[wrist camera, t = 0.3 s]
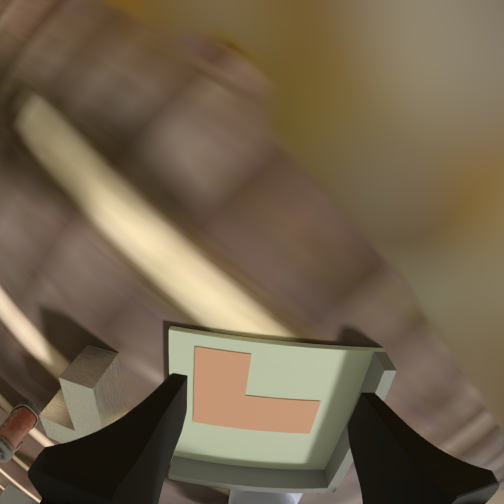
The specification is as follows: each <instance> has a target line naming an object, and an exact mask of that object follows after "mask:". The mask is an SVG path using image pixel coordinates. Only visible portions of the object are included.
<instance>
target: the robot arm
mask: <svg viewBox="0 0 504 504" xmlns="http://www.w3.org/2000/svg"><path fill="white" fill-rule="evenodd" d="M187 380H188V375H182V374H177V373H172V374H170V375H169V376H168V377H167V379H166V380H165V381H164V382H163V383H162V384H161V385H160V386H159V387H158V388H157V389H156V390H155V391H154V392H152V393H151V394H150V395H149V396H148V397H147V398H146V399H145V400H144V401H142V402H141V403H140V404H139V405H137V406H136V407H135V408H133V409H132V410H131V411H130V412H128V413H127V414H125V415H124V416H122V417H121V418H119V419H118V420H116V421H115V422H113V423H111V424H109V425H108V426H106V427H104V428H102V429H100V430H98V431H96V432H94V433H91V434H89V435H86V436H84V437H81V438H79V439H76V440H73V441H70V442H66V443H62V444H58V445H54V446H49V447H45V448H44V449H43V451H42V452H41V453H40V454H39V455H38V457H37V458H36V460H35V461H34V463H33V464H32V466H31V467H30V469H29V470H28V477H29V479H30V481H31V483H32V484H33V486H34V487H35V488H36V490H37V491H38V493H39V494H40V495H41V497H42V500H41V502H40V504H158V502H159V498H160V493H161V489H162V485H163V481H164V478H165V475H166V471H167V469H168V466H169V464H170V461H171V458H172V456H173V453H174V451H175V448H176V445H177V443H178V440H179V438H180V435H181V432H182V429H183V425H184V421H185V417H186V412H187ZM347 428H348V438H349V445H350V449H351V453H352V456H353V460H354V464H355V468H356V471H357V475H358V479H359V482H360V487H361V492H362V500H363V504H485V503H486V502H487V501H488V500H489V499H490V498H491V497H492V496H493V495H494V494H495V493H496V491H497V490H498V488H499V483H498V481H497V479H496V477H495V476H494V474H493V472H492V471H491V470H487V469H484V468H480V467H477V466H474V465H471V464H468V463H466V462H463V461H461V460H459V459H457V458H455V457H453V456H451V455H449V454H447V453H445V452H443V451H442V450H440V449H438V448H437V447H435V446H434V445H432V444H431V443H429V442H428V441H427V440H425V439H424V438H423V437H421V436H420V435H419V434H418V433H416V432H415V431H414V430H413V429H412V428H410V427H409V426H408V425H407V424H406V423H405V422H404V421H403V420H402V419H401V418H400V417H399V416H398V415H397V414H396V413H395V412H394V411H393V410H392V409H391V408H390V407H389V406H388V405H387V404H386V403H385V402H384V401H383V400H382V399H381V398H380V397H378V396H377V395H376V394H375V393H365V392H361V394H360V397H359V399H358V402H357V404H356V406H355V409H354V411H353V413H352V416H351V418H350V420H349V422H348V425H347ZM302 494H303V493H269V492H254V491H242V490H233V489H230V495H229V501H228V504H298V502H299V500H300V498H301V496H302ZM0 504H39V503H38V502H36V501H35V500H34V499H32V498H31V497H29V496H27V495H26V494H24V493H22V492H21V491H19V490H17V489H16V488H14V487H12V486H11V485H7V487H6V488H5V490H4V491H3V493H2V494H1V496H0Z"/></svg>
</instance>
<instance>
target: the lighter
mask: <svg viewBox="0 0 504 504" xmlns="http://www.w3.org/2000/svg"><path fill="white" fill-rule="evenodd" d="M40 414H41V412H40V411H39V409H38V408H37V407H36V406H35V405H34V404H33V403H31V402H29V401H23V402H21V403H19V404H18V405H16V406H15V408H14V409H13V410H12V412H11V413H10V416H9V417H8V418H7V419H6V420H5V422H4V423H3V424H2V425H1V426H0V462H1V463H5V462H8V461H9V460H10V459H11V458H12V457H13V455H14V452H16V451H17V450H18V448H19V447H20V446H21V444H22V443H23V439H24V437H25V436H26V435H27V434H28V432H29V431H30V430H31V429H33V428H34V427H35V426H36V424H37V423H38V422H39V420H40V417H39V415H40Z"/></svg>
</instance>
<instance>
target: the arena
mask: <svg viewBox="0 0 504 504" xmlns="http://www.w3.org/2000/svg"><path fill="white" fill-rule="evenodd" d="M396 371H397V370H396V368H395V367H394V365H393V363H392V362H391V360H390V358H389V357H388V355H387V353H386V351H385V350H384V348H374V347H353V346H336V345H322V344H310V343H298V342H287V341H278V340H268V339H259V338H251V337H243V336H235V335H228V334H220V333H213V332H207V331H200V330H194V329H187V328H181V327H175V326H171V327H170V328H169V375H170V374H172V373H177V374H182V375H188V380H187V412H186V417H185V421H184V425H183V429H182V432H181V435H180V438H179V440H178V443H177V445H176V448H175V451H174V453H173V454H174V456H173V459H172V463H171V466H170V469H169V473H168V477H169V479H172V480H176V481H181V482H186V483H192V484H197V485H204V486H210V487H217V488H224V489H233V490H242V491H254V492H269V493H334V492H335V490H336V489H337V487H338V486H339V484H340V482H341V481H342V479H343V477H344V476H345V474H346V472H347V471H348V469H349V467H350V466H351V464H352V462H353V456H352V453H351V449H350V445H349V438H348V428H347V425H348V422H349V420H350V418H351V416H352V413H353V411H354V409H355V406H356V404H357V402H358V399H359V397H360V394H361V392H365V393H375V394H376V395H377V396H378V397H380V398H381V399H382V400H383V401H384V399H385V397H386V395H387V392H388V390H389V388H390V386H391V383H392V381H393V378H394V376H395V374H396Z"/></svg>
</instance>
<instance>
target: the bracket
mask: <svg viewBox="0 0 504 504" xmlns="http://www.w3.org/2000/svg"><path fill="white" fill-rule="evenodd" d="M59 381H60V384H61V389H60V390H59V391H58V393H57V394H56V395H55V396H54V398H53V399H52V400H51V401H50V403H49V404H48V405H47V406H46V408H45V409H44V410H43V411H42V413H41V414H40V415H39V417H40V419H41V422H42V424H43V427H44V429H45V431H46V433H47V436H48V437H49V438H52V439H54V440H56V441H58V442H61V443H66V442H70V441H73V440H76V439H79V438H81V437H84V436H86V435H89V434H91V433H94V432H96V431H98V430H100V429H102V428H104V427H106V426H108V425H109V424H111V423H113V422H115V421H116V420H118V419H119V418H121V417H122V416H124V415H125V414H127V409H126V403H125V396H124V390H123V383H122V375H121V367H120V359H119V353H118V352H114V351H110V350H106V349H102V348H98V347H94V346H91V345H87V346H86V347H85V348H84V350H83V351H82V352H81V353H80V354H79V355H78V356H77V357H76V358H75V360H74V361H73V362H72V363H71V364H70V365H69V366H68V367H67V369H66V370H65V371H64V372H63V373H62V374H61V375H60V377H59Z"/></svg>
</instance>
